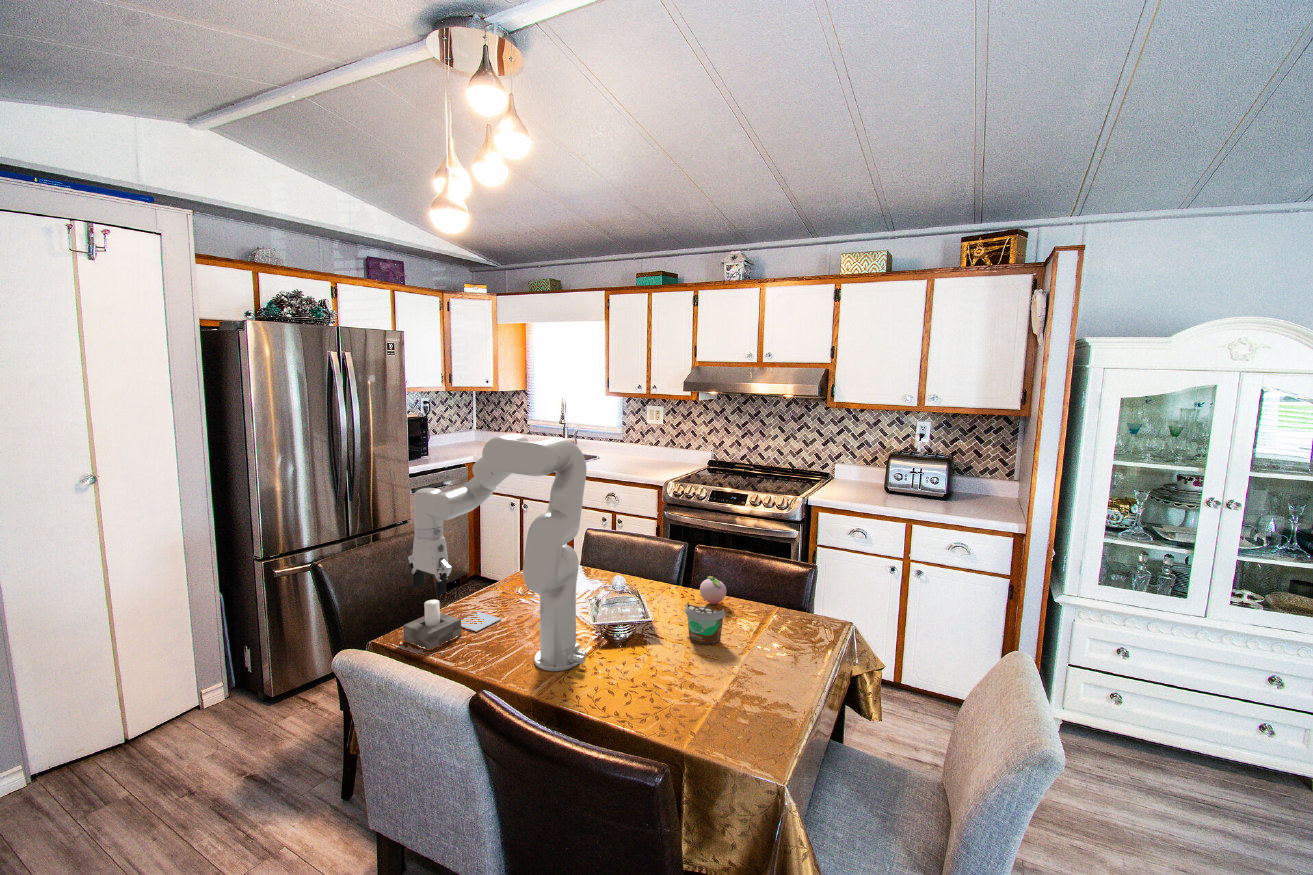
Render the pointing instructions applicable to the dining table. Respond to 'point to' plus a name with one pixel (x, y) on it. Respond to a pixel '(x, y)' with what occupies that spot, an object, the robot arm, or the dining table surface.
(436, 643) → the socket block
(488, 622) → the mat
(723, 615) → the food container
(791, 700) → the dining table surface
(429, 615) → the peg
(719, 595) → the decorative fruit
